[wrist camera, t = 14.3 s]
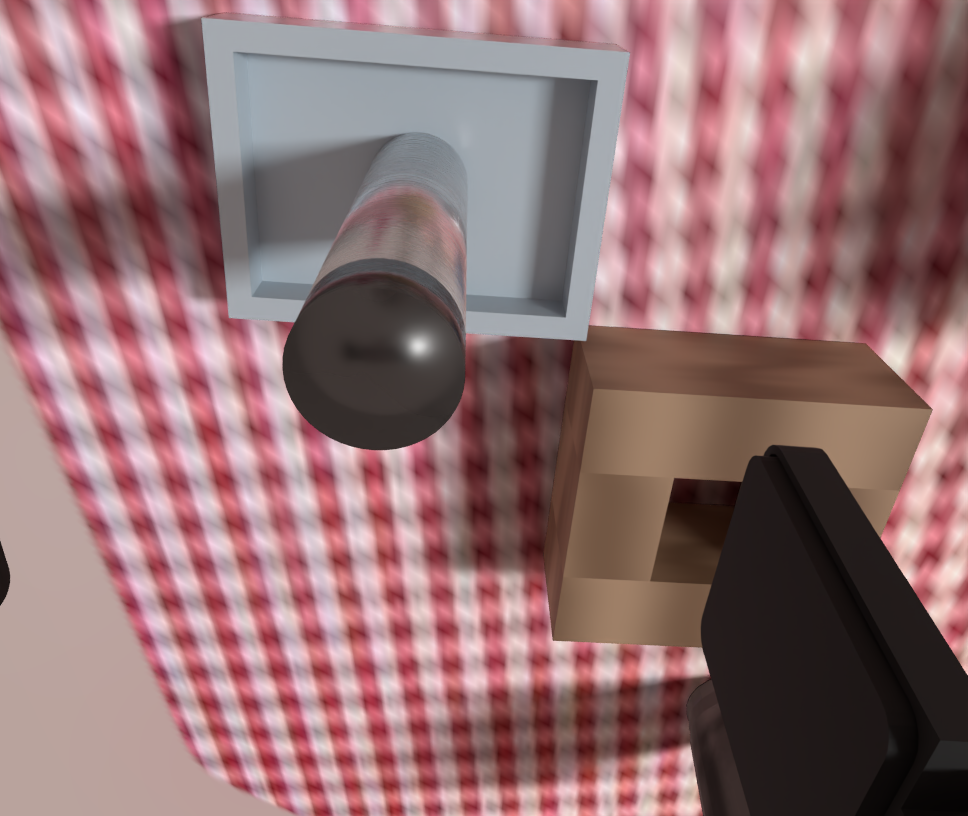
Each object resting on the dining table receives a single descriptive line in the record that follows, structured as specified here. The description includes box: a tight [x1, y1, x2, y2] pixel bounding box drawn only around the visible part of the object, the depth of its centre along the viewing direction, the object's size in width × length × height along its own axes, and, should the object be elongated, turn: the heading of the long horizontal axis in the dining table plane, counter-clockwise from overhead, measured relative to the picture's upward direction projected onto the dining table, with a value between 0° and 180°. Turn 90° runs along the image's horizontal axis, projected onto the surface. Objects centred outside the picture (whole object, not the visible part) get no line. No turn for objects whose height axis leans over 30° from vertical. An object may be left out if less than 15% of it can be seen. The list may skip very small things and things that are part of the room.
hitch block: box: [543, 326, 933, 648], centre depth 30 cm, size 11×11×5 cm
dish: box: [201, 12, 630, 341], centre depth 25 cm, size 12×9×2 cm
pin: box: [283, 132, 468, 450], centre depth 20 cm, size 3×3×14 cm
